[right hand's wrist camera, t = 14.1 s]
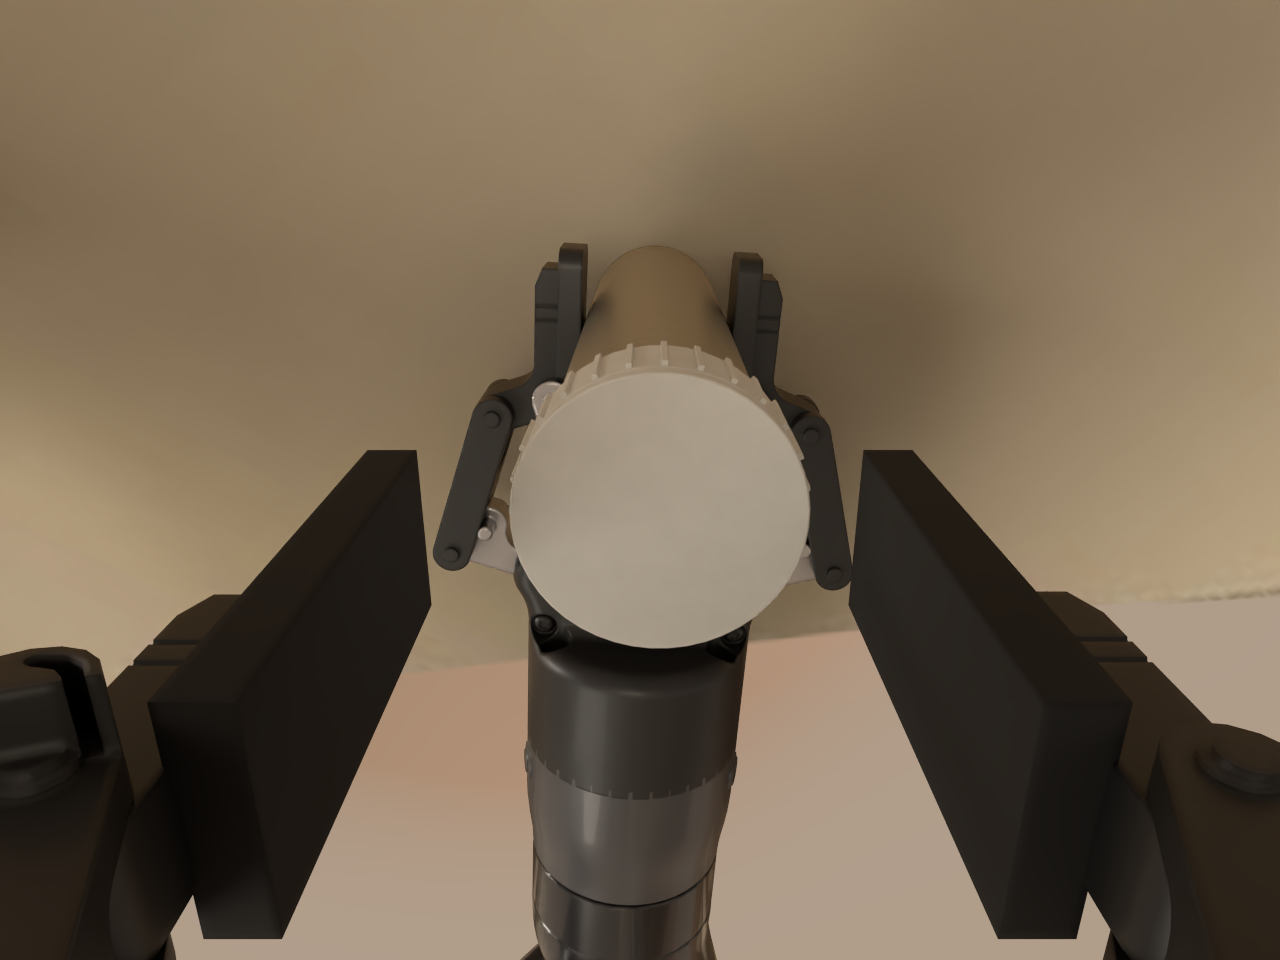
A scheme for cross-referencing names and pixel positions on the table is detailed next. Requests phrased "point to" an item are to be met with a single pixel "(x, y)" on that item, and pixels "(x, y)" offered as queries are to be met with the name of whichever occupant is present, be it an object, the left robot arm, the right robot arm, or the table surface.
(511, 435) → the left robot arm
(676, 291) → the tan tube
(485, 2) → the table surface
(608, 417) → the lid
